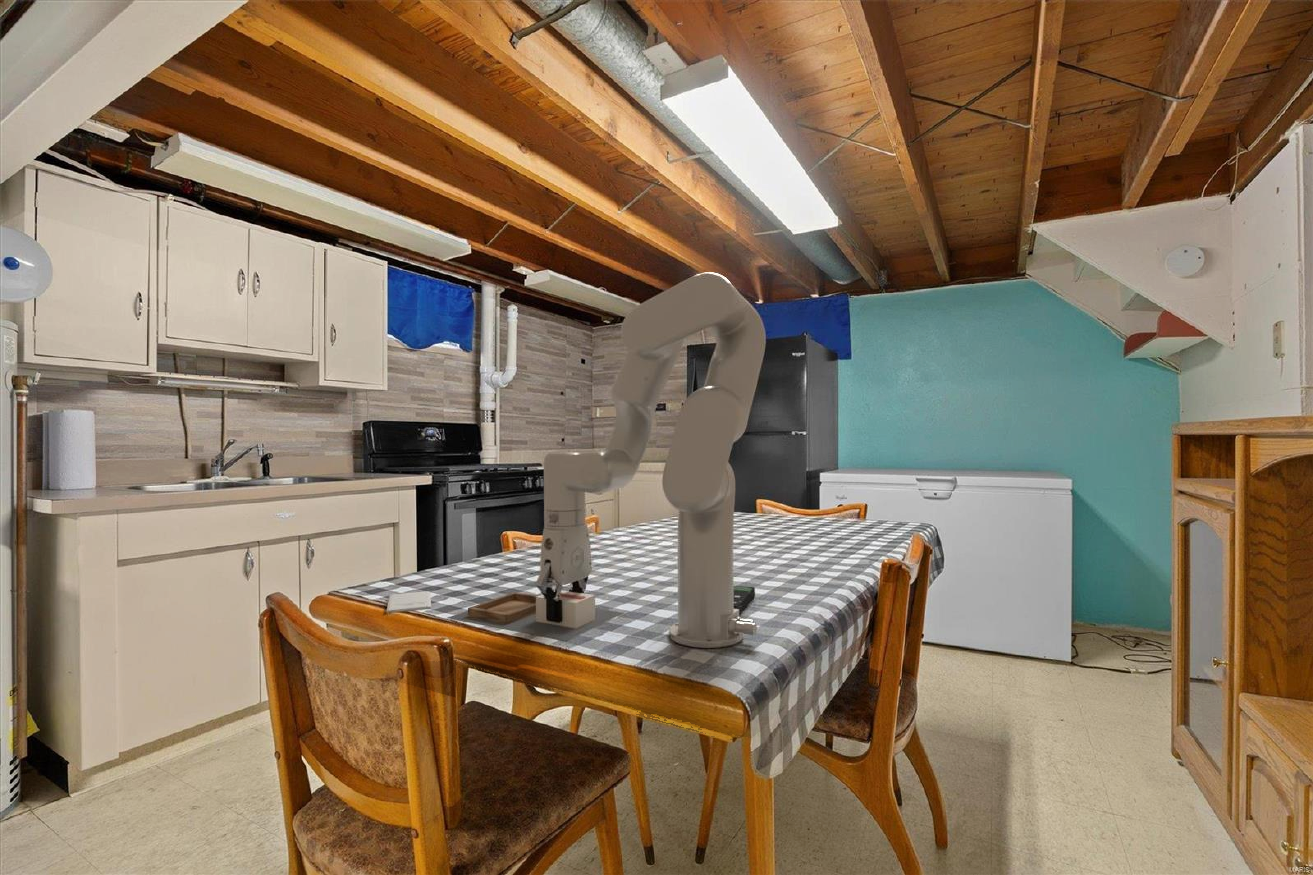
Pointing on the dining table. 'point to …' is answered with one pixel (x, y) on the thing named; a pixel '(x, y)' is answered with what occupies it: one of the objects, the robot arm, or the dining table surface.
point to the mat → (542, 625)
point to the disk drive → (743, 597)
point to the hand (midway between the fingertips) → (565, 615)
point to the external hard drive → (409, 602)
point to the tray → (505, 608)
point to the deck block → (569, 609)
